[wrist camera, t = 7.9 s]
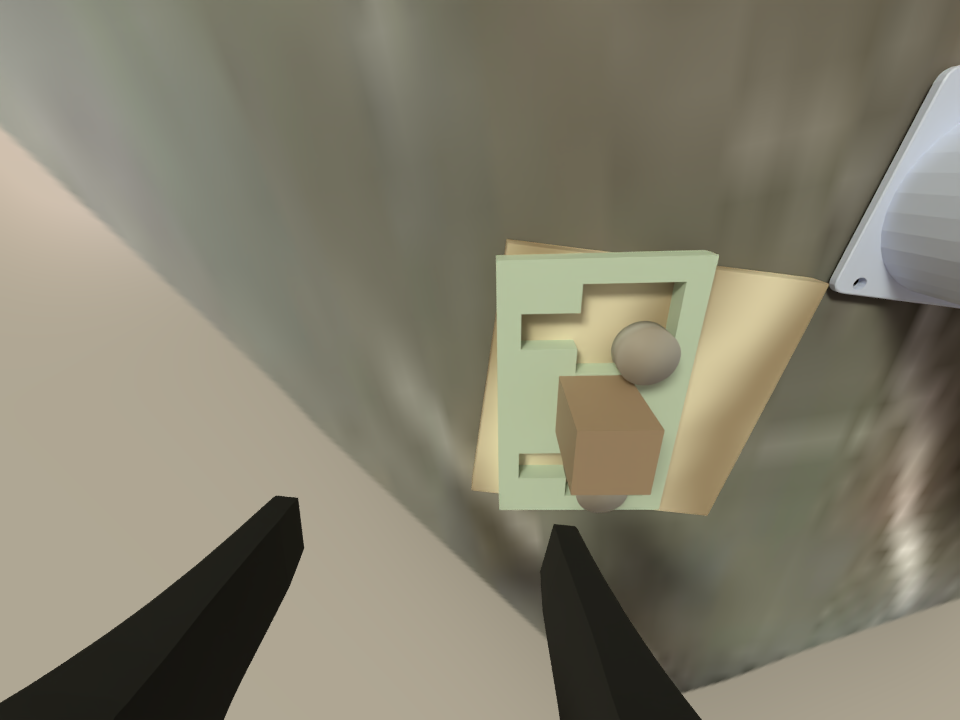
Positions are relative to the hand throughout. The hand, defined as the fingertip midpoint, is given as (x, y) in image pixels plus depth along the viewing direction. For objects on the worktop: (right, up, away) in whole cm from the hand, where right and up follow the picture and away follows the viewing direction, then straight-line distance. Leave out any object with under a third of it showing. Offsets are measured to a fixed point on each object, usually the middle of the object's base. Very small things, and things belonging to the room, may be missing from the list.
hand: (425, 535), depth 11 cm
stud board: (+9, +3, +9) cm, 13 cm away
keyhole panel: (+7, +3, +8) cm, 11 cm away
